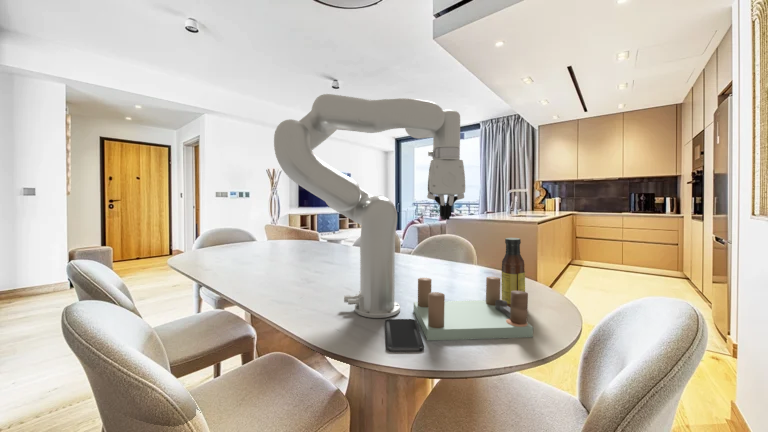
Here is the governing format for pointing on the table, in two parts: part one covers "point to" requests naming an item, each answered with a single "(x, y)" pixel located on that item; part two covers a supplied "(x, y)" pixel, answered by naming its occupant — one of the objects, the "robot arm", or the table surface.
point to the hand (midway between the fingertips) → (445, 219)
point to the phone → (403, 336)
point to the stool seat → (465, 315)
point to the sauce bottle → (512, 270)
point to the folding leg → (515, 307)
